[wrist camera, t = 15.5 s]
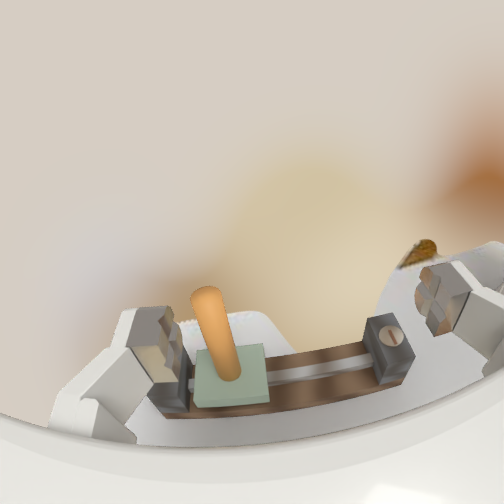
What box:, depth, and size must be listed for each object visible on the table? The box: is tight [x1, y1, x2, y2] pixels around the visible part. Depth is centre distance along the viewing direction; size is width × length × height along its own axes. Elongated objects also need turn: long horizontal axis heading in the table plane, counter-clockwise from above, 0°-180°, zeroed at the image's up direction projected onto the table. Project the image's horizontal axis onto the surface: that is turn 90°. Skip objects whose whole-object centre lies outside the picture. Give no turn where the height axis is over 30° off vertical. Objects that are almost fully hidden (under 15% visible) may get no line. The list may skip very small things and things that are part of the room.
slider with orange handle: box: [190, 286, 270, 408], centre depth 31 cm, size 9×8×15 cm
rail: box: [147, 313, 416, 419], centre depth 35 cm, size 33×8×8 cm, turn 94°
